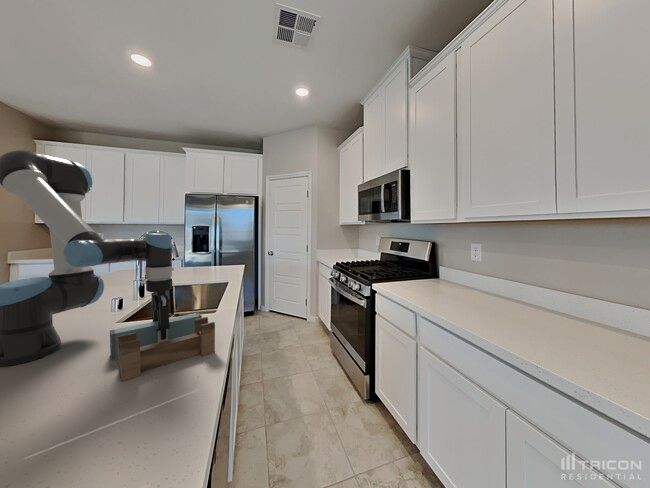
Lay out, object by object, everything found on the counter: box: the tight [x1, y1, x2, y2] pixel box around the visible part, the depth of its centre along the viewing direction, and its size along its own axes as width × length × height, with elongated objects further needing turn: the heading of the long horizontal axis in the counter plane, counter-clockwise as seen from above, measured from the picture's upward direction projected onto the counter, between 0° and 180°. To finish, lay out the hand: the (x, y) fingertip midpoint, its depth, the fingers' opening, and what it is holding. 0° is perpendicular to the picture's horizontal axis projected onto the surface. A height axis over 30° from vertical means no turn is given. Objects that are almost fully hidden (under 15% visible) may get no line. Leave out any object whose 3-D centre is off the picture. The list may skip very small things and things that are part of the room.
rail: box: [109, 312, 203, 361], centre depth 87 cm, size 4×26×8 cm, turn 134°
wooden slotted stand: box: [118, 316, 216, 382], centre depth 77 cm, size 7×24×10 cm, turn 134°
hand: (160, 344), depth 87 cm, fingers open, 7 cm apart
